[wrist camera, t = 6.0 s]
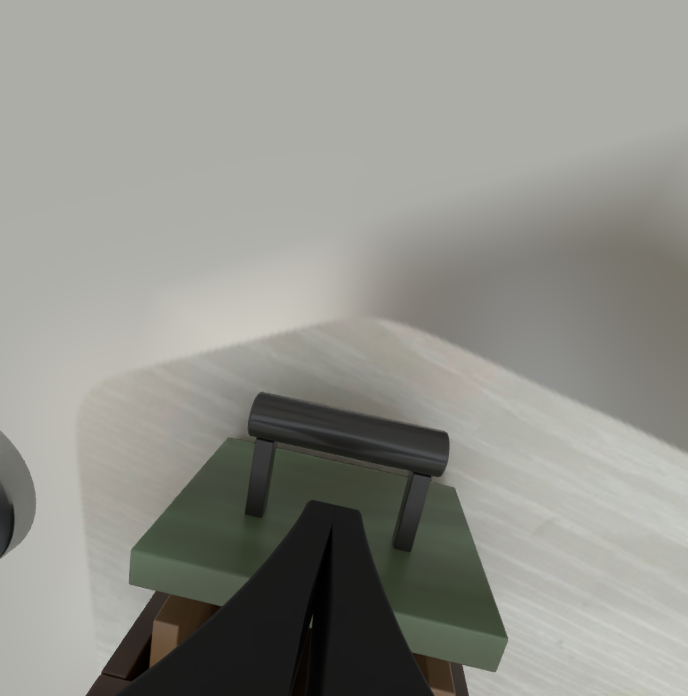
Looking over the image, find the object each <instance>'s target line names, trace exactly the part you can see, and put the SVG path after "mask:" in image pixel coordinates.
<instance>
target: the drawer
mask: <svg viewBox="0 0 688 696" xmlns="http://www.w3.org/2000/svg"><path fill="white" fill-rule="evenodd" d="M248 433H249V435H250V436H254V437H257V438H256V440H255V443H251V442H247V441H242V440H238V439H233V438H227V439H226V441H225V442H224V443H223V444H222V445H221V446H220V448H219V449H218V450H217V451H216V452H215V453H214V454H213V456H212V457H211V458H210V459H209V460H208V461H207V463H206V464H205V465H204V466H203V467H202V468H201V470H200V471H199V472H198V473H197V474H196V475H195V476H194V478H193V479H192V480H191V481H190V482H189V483H188V485H187V486H186V487H185V488H184V489H183V490H182V492H181V493H180V494H179V495H178V496H177V497H176V498H175V500H174V501H173V502H172V503H171V504H170V505H169V507H168V508H167V509H166V510H165V511H164V512H163V514H162V515H161V516H160V517H159V518H158V519H157V520H156V522H155V523H154V524H153V525H152V526H151V527H150V529H149V530H148V531H147V532H146V533H145V534H144V536H143V537H142V538H141V539H140V540H139V541H138V542H137V544H136V545H135V546H134V547H133V548H132V550H131V559H130V573H129V584H130V585H134V586H138V587H143V588H147V589H151V590H155V591H159V592H163V593H168V594H170V595H169V597H168V598H167V600H166V601H165V603H164V605H163V606H162V608H161V609H160V611H159V613H158V614H157V616H156V617H155V619H154V621H153V632H152V643H151V654H150V665H149V668H151V667H152V666H153V665H155V664H156V663H157V662H158V661H160V660H161V659H162V658H163V657H165V656H166V655H167V654H168V653H170V652H171V651H172V650H173V649H174V648H176V647H177V646H178V645H179V644H180V643H182V642H183V641H184V640H185V639H186V638H187V637H189V636H190V635H191V634H192V633H193V632H194V631H196V630H197V629H198V628H199V627H200V626H201V625H202V624H204V623H205V622H206V621H207V620H208V619H209V618H210V617H211V616H212V615H214V614H215V613H216V612H217V611H218V610H219V609H220V608H221V607H222V606H223V605H224V604H225V603H226V602H227V601H228V600H229V599H230V598H231V597H232V596H233V595H234V594H235V593H236V592H237V591H238V590H239V589H240V588H241V587H242V586H243V585H244V584H245V583H246V582H247V581H248V580H249V579H250V578H251V577H252V575H253V574H254V573H255V572H256V571H257V570H258V569H259V568H260V567H261V565H262V564H263V563H264V562H265V561H266V560H267V559H268V558H269V556H270V555H271V554H272V553H273V552H274V550H275V549H276V548H277V546H278V545H279V544H280V543H281V541H282V540H283V539H284V538H285V536H286V535H287V534H288V532H289V531H290V530H291V528H292V527H293V525H294V524H295V523H296V521H297V519H298V518H299V516H300V515H301V513H302V511H303V510H304V508H305V506H306V504H307V502H309V501H310V500H316V501H321V502H325V503H330V504H334V505H338V506H343V507H347V508H352V509H356V510H359V511H360V513H361V515H362V520H363V525H364V529H365V533H366V537H367V541H368V544H369V547H370V551H371V554H372V557H373V560H374V563H375V566H376V569H377V572H378V574H379V577H380V580H381V583H382V585H383V588H384V591H385V593H386V596H387V598H388V601H389V603H390V606H391V608H392V610H393V613H394V615H395V617H396V620H397V622H398V624H399V626H400V629H401V631H402V633H403V635H404V637H405V639H406V641H407V644H408V646H409V648H410V650H411V652H412V654H413V656H414V658H415V660H416V662H417V664H418V666H419V668H420V670H421V671H422V673H423V675H424V677H425V679H426V681H427V683H428V684H429V686H430V688H431V690H432V692H433V694H434V695H435V696H455V688H454V683H453V678H452V672H451V667H450V662H454V663H458V664H462V665H466V666H470V667H475V668H479V669H483V670H487V671H491V672H496V671H497V668H498V666H499V663H500V660H501V658H502V655H503V653H504V650H505V647H506V645H507V642H508V637H507V634H506V631H505V628H504V625H503V622H502V620H501V617H500V614H499V611H498V608H497V606H496V603H495V600H494V597H493V594H492V591H491V589H490V586H489V583H488V580H487V577H486V575H485V572H484V569H483V566H482V563H481V560H480V558H479V555H478V552H477V549H476V546H475V544H474V541H473V538H472V535H471V532H470V529H469V527H468V524H467V521H466V518H465V515H464V513H463V510H462V507H461V504H460V501H459V498H458V496H457V493H456V490H455V488H454V487H450V486H445V485H441V484H436V483H432V482H431V479H432V477H431V476H435V477H441V476H442V475H443V473H444V471H445V469H446V466H447V462H448V457H449V436H448V434H447V432H445V431H442V430H437V429H433V428H428V427H423V426H419V425H414V424H409V423H405V422H400V421H395V420H391V419H386V418H382V417H377V416H372V415H368V414H363V413H358V412H354V411H349V410H344V409H340V408H335V407H331V406H326V405H321V404H317V403H312V402H307V401H303V400H298V399H293V398H289V397H284V396H280V395H275V394H270V393H266V392H260V393H259V394H258V395H257V397H256V398H255V400H254V403H253V405H252V408H251V412H250V416H249V421H248ZM277 442H281V443H285V444H290V445H294V446H299V447H303V448H308V449H313V450H317V451H322V452H326V453H331V454H335V455H340V456H344V457H349V458H353V459H358V460H362V461H367V462H371V463H376V464H380V465H385V466H389V467H394V468H399V469H403V470H408V471H410V472H409V476H408V477H405V476H400V475H396V474H391V473H387V472H382V471H378V470H373V469H369V468H364V467H360V466H355V465H350V464H346V463H341V462H337V461H332V460H328V459H323V458H319V457H314V456H310V455H305V454H301V453H296V452H292V451H287V450H283V449H278V448H276V447H277ZM312 619H313V616H312ZM312 619H311V623H310V627H309V631H308V634H307V638H306V642H305V645H304V649H303V653H302V656H301V660H300V664H299V667H298V671H297V675H296V678H295V682H294V686H293V689H292V693H291V696H305V690H306V680H307V669H308V659H309V649H310V639H311V629H312ZM449 661H450V662H449Z"/></svg>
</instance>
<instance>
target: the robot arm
mask: <svg viewBox="0 0 688 696" xmlns="http://www.w3.org/2000/svg"><path fill="white" fill-rule="evenodd" d="M312 616H313V619H312ZM311 619H312V629H311V639H310V649H309V659H308V669H307V680H306V690H305V696H435V695H434V694H433V692H432V690H431V688H430V686H429V684H428V683H427V681H426V679H425V677H424V675H423V673H422V671H421V670H420V668H419V666H418V664H417V662H416V660H415V658H414V656H413V654H412V652H411V650H410V648H409V646H408V644H407V641H406V639H405V637H404V635H403V633H402V631H401V629H400V626H399V624H398V622H397V620H396V617H395V615H394V613H393V610H392V608H391V606H390V603H389V601H388V598H387V596H386V593H385V591H384V588H383V585H382V583H381V580H380V577H379V574H378V572H377V569H376V566H375V563H374V560H373V557H372V554H371V551H370V547H369V544H368V541H367V537H366V533H365V529H364V525H363V520H362V515H361V513H360V511H359V510H356V509H352V508H347V507H343V506H338V505H334V504H330V503H325V502H321V501H316V500H310V501H309V502H307V504H306V506H305V508H304V510H303V511H302V513H301V515H300V516H299V518H298V519H297V521H296V523H295V524H294V525H293V527H292V528H291V530H290V531H289V532H288V534H287V535H286V536H285V538H284V539H283V540H282V541H281V543H280V544H279V545H278V546H277V548H276V549H275V550H274V552H273V553H272V554H271V555H270V556H269V558H268V559H267V560H266V561H265V562H264V563H263V564H262V565H261V567H260V568H259V569H258V570H257V571H256V572H255V573H254V574H253V575H252V577H251V578H250V579H249V580H248V581H247V582H246V583H245V584H244V585H243V586H242V587H241V588H240V589H239V590H238V591H237V592H236V593H235V594H234V595H233V596H232V597H231V598H230V599H229V600H228V601H227V602H226V603H225V604H224V605H223V606H222V607H221V608H220V609H219V610H218V611H217V612H216V613H215V614H214V615H212V616H211V617H210V618H209V619H208V620H207V621H206V622H205V623H204V624H202V625H201V626H200V627H199V628H198V629H197V630H196V631H194V632H193V633H192V634H191V635H190V636H189V637H187V638H186V639H185V640H184V641H183V642H182V643H180V644H179V645H178V646H177V647H176V648H174V649H173V650H172V651H171V652H170V653H168V654H167V655H166V656H165V657H163V658H162V659H161V660H160V661H158V662H157V663H156V664H155V665H153V666H152V667H151V668H149V669H148V670H147V671H145V672H144V673H143V674H141V675H140V676H139V677H137V678H136V679H134V680H133V681H132V682H130V683H129V684H128V685H126V686H125V687H124V688H122V689H121V690H120V691H118V692H117V693H116V694H114V695H113V696H291V693H292V689H293V686H294V682H295V678H296V675H297V671H298V667H299V664H300V660H301V656H302V653H303V649H304V645H305V642H306V638H307V634H308V631H309V627H310V623H311Z"/></svg>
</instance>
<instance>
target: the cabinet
mask: <svg viewBox="0 0 688 696" xmlns="http://www.w3.org/2000/svg"><path fill="white" fill-rule="evenodd" d="M169 595H170V594H168V593H163V592H159V591H156V592H155V593H154V595H153V596H152V598H151V599H150V601H149V602H148V604H147V605H146V607H145V608H144V610H143V611H142V613H141V614H140V616H139V617H138V618H137V620H136V621H135V623H134V624H133V626H132V627H131V629H130V630H129V632H128V633H127V635H126V636H125V638H124V639H123V641H122V642H121V644H120V645H119V647H118V648H117V649H116V651H115V652H114V654H113V655H112V657H111V658H110V660H109V661H108V663H107V664H106V666H105V667H104V669H103V670H102V672H101V675H100V676H99V677H98V678H97V680H96V681H95V683H94V684H93V686H92V687H91V689H90V690H89V692H88V693H87V695H86V696H113V695H114V694H116V693H117V692H118V691H120V690H121V689H122V688H124V687H125V686H126V685H128V684H129V683H130V682H132V681H133V680H134V679H136V678H137V677H139V676H140V675H141V674H143V673H144V672H145V671H147V670H148V669H149V665H150V654H151V643H152V632H153V621H154V619H155V617H156V616H157V614H158V613H159V611H160V609H161V608H162V606H163V605H164V603H165V601H166V600H167V598H168V597H169ZM449 662H450V661H449ZM450 667H451V672H452V678H453V683H454V688H455V696H469V694H468V689H467V684H466V680H465V675H464V671H463V666H462V664H458V663H454V662H450Z"/></svg>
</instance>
